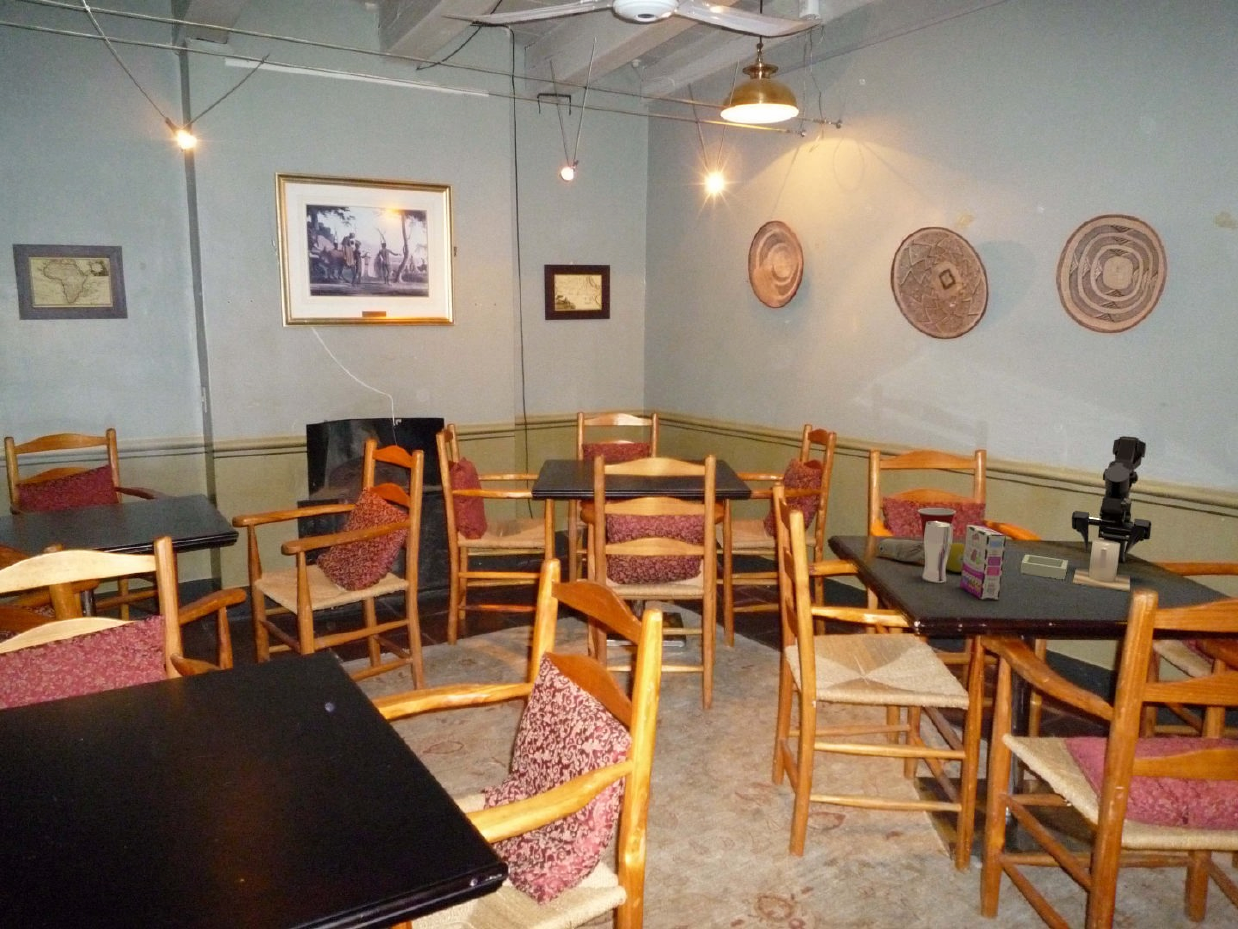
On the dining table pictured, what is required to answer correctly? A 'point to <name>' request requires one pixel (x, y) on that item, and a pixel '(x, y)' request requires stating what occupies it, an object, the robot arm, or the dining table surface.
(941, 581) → the beer glass
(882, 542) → the decorative bird
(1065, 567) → the glass holder
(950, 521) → the plastic cup
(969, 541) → the candy bar box
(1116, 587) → the serving board
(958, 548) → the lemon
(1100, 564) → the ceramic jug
